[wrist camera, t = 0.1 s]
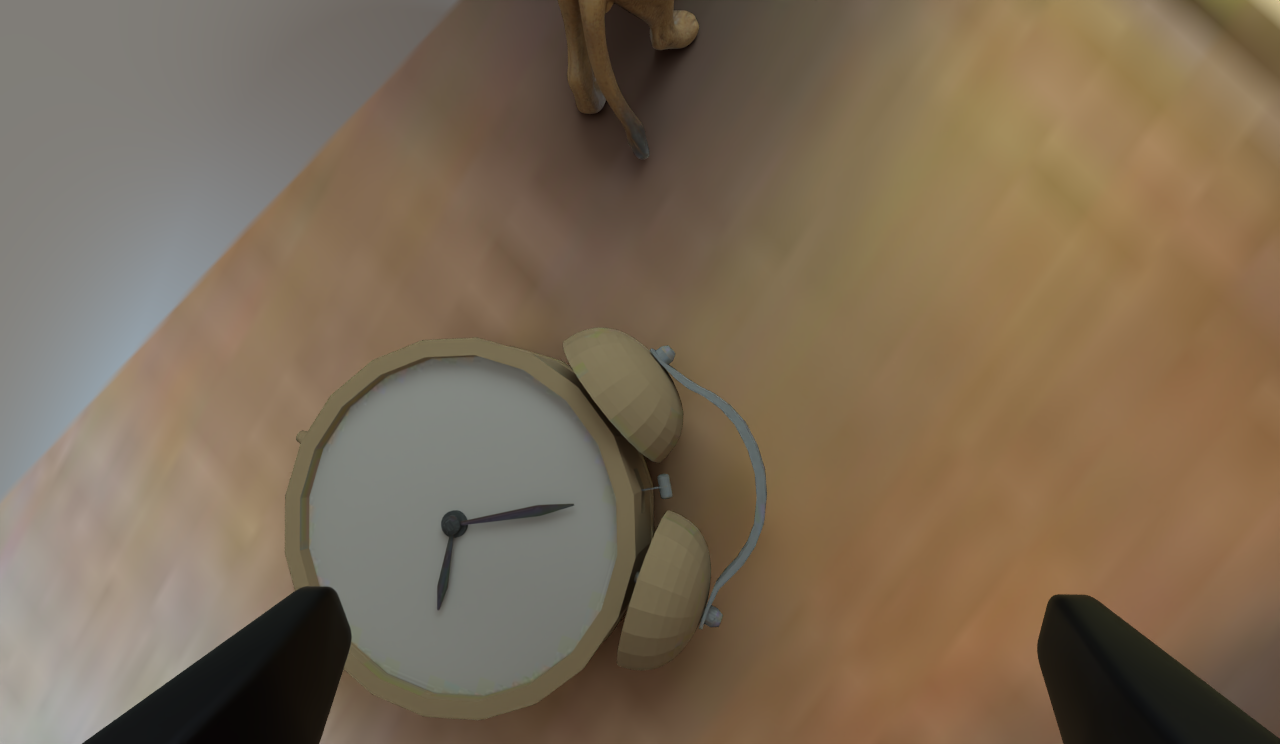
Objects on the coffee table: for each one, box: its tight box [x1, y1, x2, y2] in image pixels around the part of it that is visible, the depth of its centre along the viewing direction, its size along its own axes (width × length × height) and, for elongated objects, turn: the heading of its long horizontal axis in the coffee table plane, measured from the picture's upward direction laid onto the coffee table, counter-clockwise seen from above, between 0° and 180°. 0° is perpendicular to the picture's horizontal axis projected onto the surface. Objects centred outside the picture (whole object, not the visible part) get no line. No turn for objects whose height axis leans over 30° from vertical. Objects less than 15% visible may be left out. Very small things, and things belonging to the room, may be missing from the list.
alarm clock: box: [285, 328, 767, 720], centre depth 23 cm, size 11×5×15 cm
